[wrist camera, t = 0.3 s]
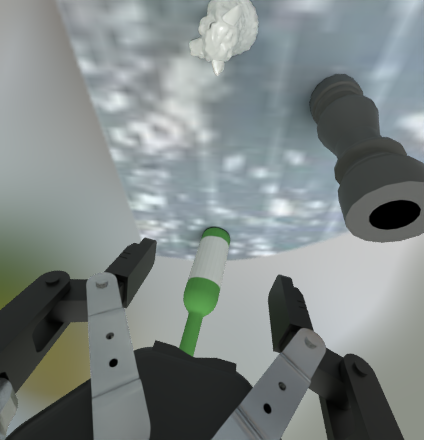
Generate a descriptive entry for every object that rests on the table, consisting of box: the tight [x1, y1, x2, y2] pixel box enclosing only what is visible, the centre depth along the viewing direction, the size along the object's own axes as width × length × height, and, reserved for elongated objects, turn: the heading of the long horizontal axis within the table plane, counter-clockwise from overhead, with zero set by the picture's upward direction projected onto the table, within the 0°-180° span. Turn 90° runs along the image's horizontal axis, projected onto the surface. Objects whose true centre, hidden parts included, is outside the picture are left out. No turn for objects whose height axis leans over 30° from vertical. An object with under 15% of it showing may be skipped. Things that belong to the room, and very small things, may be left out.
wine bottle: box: [179, 228, 230, 357], centre depth 50 cm, size 8×8×30 cm
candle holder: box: [310, 74, 424, 243], centre depth 23 cm, size 6×6×25 cm
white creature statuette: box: [189, 0, 259, 76], centre depth 24 cm, size 10×9×12 cm
